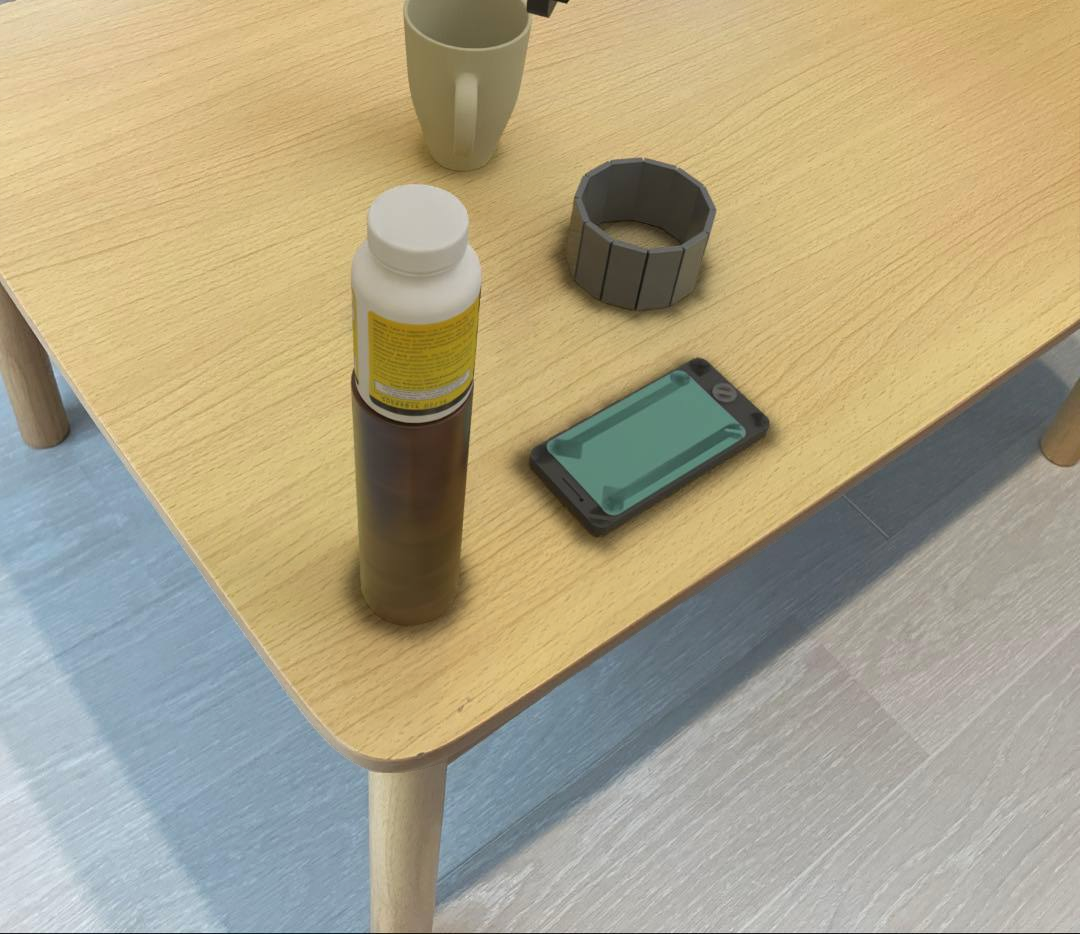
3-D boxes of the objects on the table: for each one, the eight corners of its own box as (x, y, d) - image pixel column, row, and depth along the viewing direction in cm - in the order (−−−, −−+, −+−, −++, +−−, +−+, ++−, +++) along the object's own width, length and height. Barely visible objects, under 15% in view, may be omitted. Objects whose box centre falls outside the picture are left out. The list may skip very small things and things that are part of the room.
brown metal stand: (470, 558, 70) (489, 353, 55) (439, 637, 66) (451, 442, 52) (381, 531, 70) (377, 321, 56) (346, 608, 67) (331, 407, 52)
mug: (369, 145, 91) (366, 4, 81) (469, 101, 95) (477, -38, 86) (457, 224, 87) (465, 85, 77) (558, 174, 91) (577, 37, 81)
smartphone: (775, 421, 77) (599, 529, 70) (770, 433, 78) (596, 540, 71) (699, 350, 80) (524, 447, 73) (695, 363, 81) (522, 459, 74)
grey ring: (710, 236, 88) (726, 178, 84) (683, 324, 83) (699, 267, 78) (586, 203, 89) (595, 144, 85) (551, 288, 84) (560, 229, 79)
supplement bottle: (496, 397, 54) (513, 236, 46) (392, 445, 51) (391, 284, 44) (434, 321, 56) (440, 156, 48) (333, 363, 54) (321, 197, 46)
